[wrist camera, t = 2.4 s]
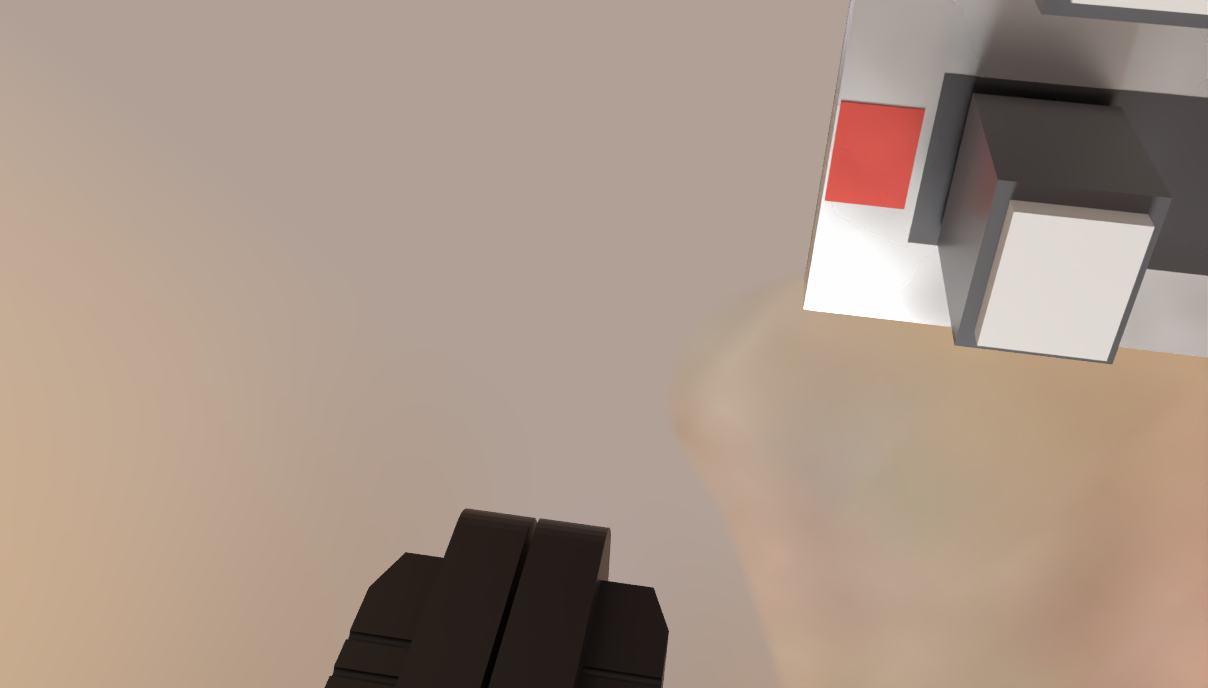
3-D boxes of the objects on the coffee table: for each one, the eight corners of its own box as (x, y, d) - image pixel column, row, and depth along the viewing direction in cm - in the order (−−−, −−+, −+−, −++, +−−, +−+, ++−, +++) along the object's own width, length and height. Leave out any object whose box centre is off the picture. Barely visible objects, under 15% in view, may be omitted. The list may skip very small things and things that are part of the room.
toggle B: (1121, 107, 19) (1179, 210, 16) (1073, 258, 21) (1117, 378, 18) (972, 93, 20) (1001, 191, 16) (937, 243, 21) (957, 358, 18)
